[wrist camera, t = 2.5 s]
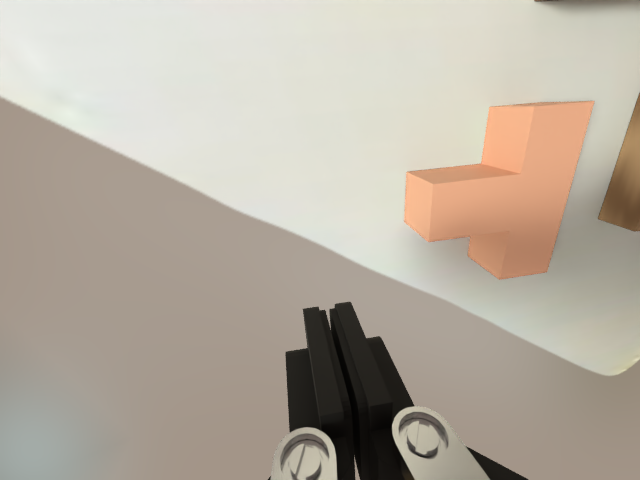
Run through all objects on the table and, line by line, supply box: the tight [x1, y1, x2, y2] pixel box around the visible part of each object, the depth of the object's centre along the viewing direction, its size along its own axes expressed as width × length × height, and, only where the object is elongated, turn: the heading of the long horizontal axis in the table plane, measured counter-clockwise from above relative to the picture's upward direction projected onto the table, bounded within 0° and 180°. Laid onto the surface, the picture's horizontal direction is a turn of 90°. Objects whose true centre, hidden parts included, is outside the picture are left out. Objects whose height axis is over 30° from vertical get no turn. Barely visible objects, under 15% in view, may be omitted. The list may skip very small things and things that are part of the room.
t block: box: [404, 101, 594, 280], centre depth 22 cm, size 12×10×4 cm
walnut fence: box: [535, 0, 640, 231], centre depth 21 cm, size 18×12×3 cm, turn 4°
